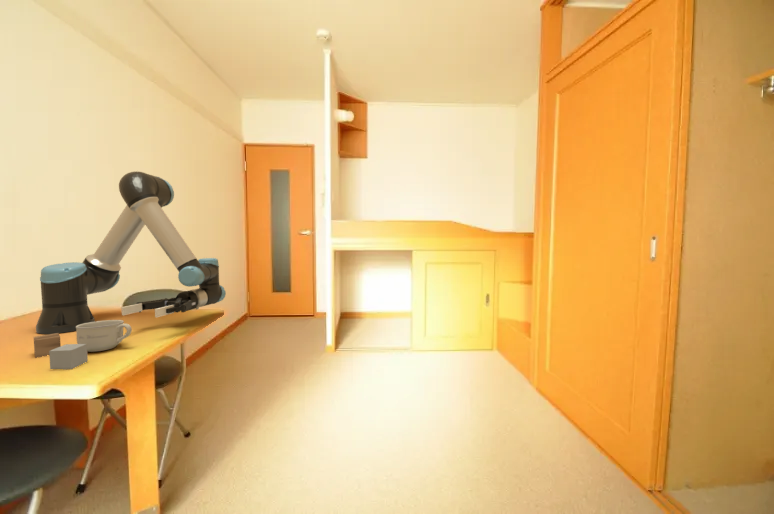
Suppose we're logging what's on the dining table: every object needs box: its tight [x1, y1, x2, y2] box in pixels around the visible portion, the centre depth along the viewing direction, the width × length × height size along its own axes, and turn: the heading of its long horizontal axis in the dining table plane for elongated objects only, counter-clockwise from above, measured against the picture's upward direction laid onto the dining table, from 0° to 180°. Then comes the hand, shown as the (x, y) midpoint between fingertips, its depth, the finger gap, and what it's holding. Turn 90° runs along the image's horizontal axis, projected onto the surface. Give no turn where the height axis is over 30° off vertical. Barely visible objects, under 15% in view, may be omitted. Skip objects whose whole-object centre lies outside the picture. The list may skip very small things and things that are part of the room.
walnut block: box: [33, 333, 62, 359], centre depth 93 cm, size 5×5×5 cm
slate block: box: [49, 343, 89, 370], centre depth 85 cm, size 5×5×5 cm
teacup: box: [75, 319, 132, 353], centre depth 97 cm, size 14×11×8 cm
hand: (138, 312), depth 106 cm, fingers open, 13 cm apart
